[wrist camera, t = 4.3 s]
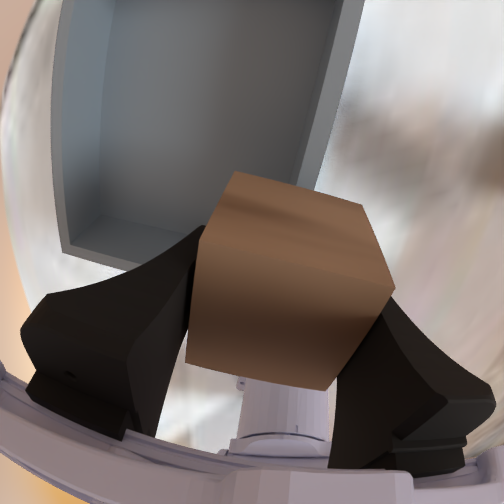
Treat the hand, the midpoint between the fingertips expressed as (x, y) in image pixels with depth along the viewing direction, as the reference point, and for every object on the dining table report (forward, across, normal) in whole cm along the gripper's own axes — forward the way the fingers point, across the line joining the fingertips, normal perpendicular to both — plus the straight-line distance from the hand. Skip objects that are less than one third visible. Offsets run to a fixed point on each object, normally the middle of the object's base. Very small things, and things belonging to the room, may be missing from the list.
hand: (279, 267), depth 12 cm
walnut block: (+2, 0, 0) cm, 2 cm away
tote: (+8, +6, -4) cm, 11 cm away
